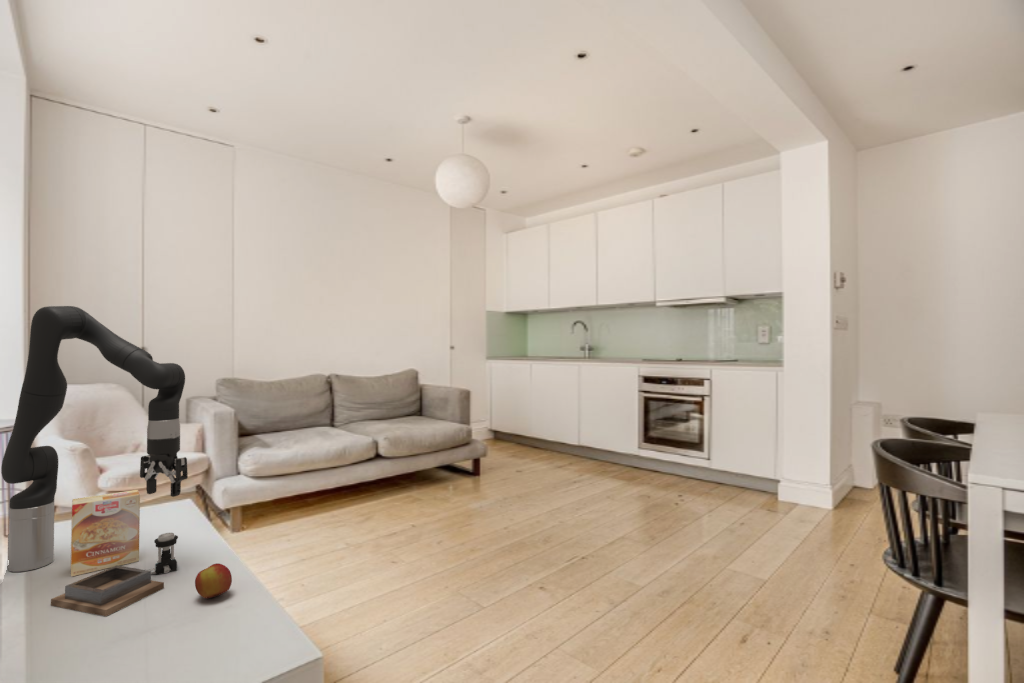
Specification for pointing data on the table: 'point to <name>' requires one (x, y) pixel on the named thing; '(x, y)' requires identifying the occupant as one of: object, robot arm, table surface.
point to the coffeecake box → (104, 531)
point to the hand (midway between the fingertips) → (163, 494)
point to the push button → (165, 554)
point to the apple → (213, 581)
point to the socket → (89, 593)
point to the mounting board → (109, 606)
